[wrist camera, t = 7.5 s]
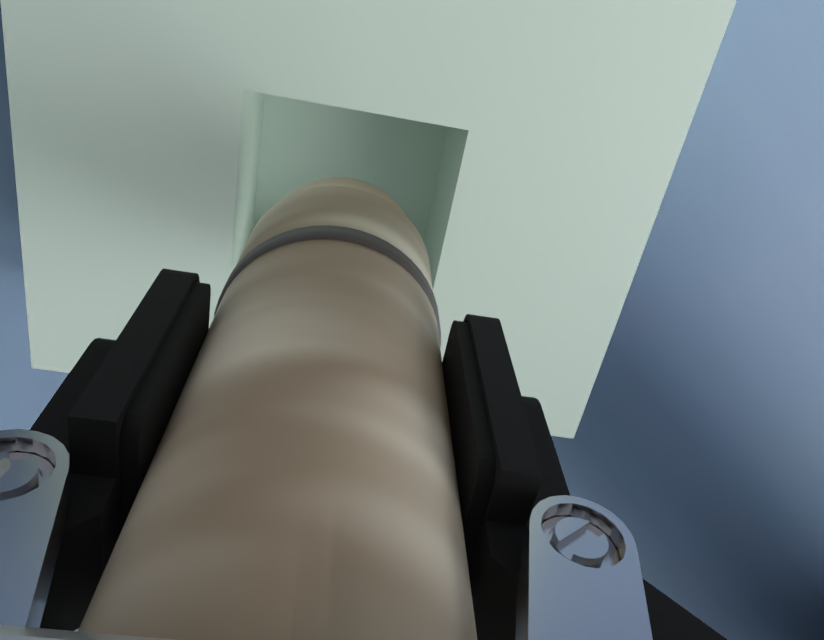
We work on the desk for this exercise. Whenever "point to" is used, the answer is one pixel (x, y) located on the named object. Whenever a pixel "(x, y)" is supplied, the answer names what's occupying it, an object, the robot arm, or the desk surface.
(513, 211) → the peg board
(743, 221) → the desk surface
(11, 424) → the desk surface
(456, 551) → the ash peg
